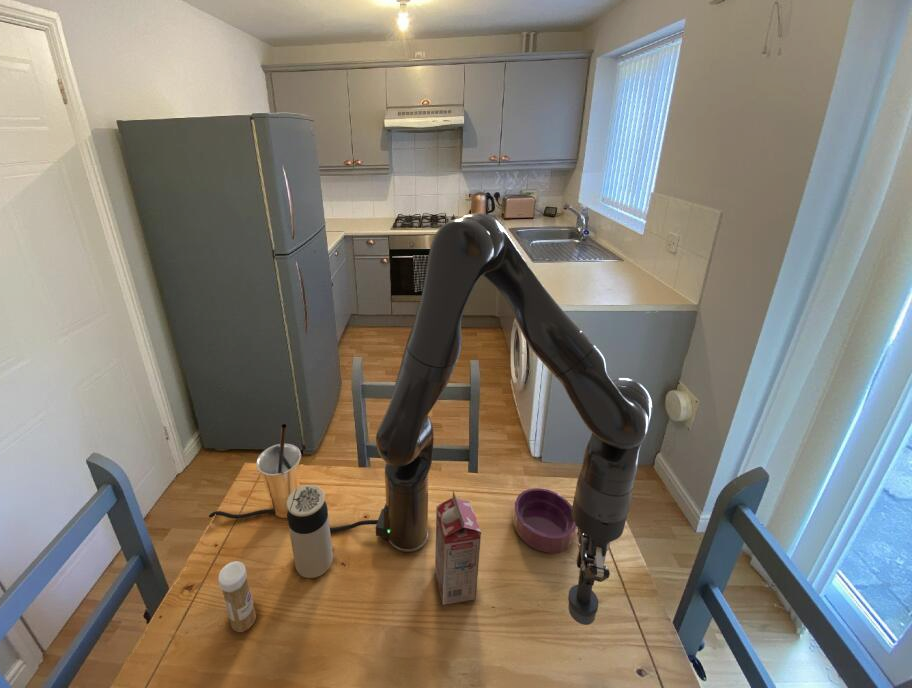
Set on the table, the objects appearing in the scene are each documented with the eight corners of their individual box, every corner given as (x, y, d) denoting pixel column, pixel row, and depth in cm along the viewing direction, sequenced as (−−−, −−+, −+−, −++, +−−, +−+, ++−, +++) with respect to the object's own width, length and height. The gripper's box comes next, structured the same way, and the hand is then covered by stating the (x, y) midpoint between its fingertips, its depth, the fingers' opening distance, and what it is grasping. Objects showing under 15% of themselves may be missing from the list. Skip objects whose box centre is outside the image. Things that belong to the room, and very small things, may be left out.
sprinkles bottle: (255, 629, 78) (243, 581, 73) (229, 636, 77) (215, 588, 72) (257, 604, 82) (246, 557, 77) (232, 610, 81) (220, 563, 76)
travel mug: (337, 546, 93) (330, 485, 86) (326, 581, 86) (318, 518, 79) (303, 541, 94) (294, 481, 87) (289, 576, 87) (278, 513, 80)
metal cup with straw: (301, 531, 97) (284, 426, 85) (256, 523, 99) (234, 420, 87) (318, 494, 107) (306, 395, 95) (277, 487, 109) (260, 390, 97)
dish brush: (568, 622, 73) (575, 564, 68) (566, 595, 77) (572, 538, 72) (598, 629, 72) (607, 570, 66) (594, 601, 76) (602, 543, 71)
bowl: (512, 547, 92) (514, 531, 90) (513, 498, 104) (514, 483, 102) (577, 560, 89) (581, 544, 87) (570, 509, 101) (573, 493, 99)
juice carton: (442, 604, 81) (445, 523, 73) (435, 571, 87) (436, 493, 79) (475, 599, 82) (482, 518, 74) (465, 566, 88) (470, 488, 80)
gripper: (570, 463, 72) (557, 535, 78) (581, 533, 59) (565, 611, 66) (618, 470, 70) (600, 543, 76) (640, 545, 57) (617, 624, 64)
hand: (584, 574), depth 71 cm, fingers closed on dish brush
